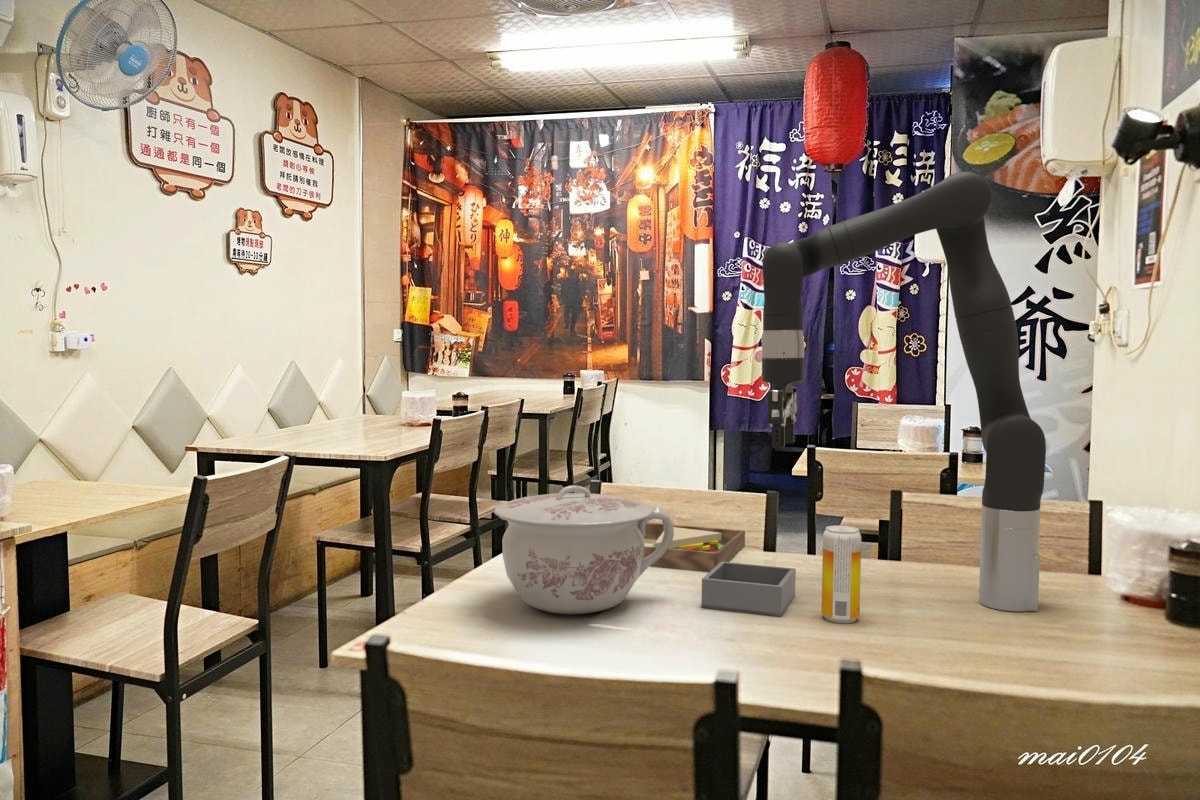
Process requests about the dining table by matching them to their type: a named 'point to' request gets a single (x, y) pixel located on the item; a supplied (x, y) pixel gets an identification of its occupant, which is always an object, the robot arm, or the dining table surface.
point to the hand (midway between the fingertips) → (783, 445)
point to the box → (749, 588)
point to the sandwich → (693, 540)
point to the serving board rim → (695, 559)
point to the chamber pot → (577, 548)
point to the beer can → (841, 574)
